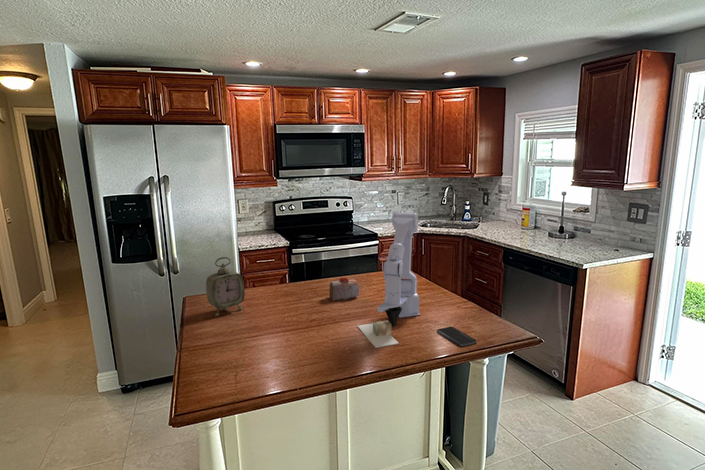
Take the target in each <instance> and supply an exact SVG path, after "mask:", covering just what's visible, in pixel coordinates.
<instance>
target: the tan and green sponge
mask: <svg viewBox="0 0 705 470" xmlns="http://www.w3.org/2000/svg"><path fill="white" fill-rule="evenodd" d="M372 323H373V333H374V334H375V335H376V336H382V335H388V334H390V335H392V326H391V323H390V322H389V319H387V320H386V319H385V320H380V321H379V320H378V321H372Z"/></svg>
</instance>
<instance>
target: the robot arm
mask: <svg viewBox="0 0 705 470" xmlns="http://www.w3.org/2000/svg"><path fill="white" fill-rule="evenodd" d="M391 223H392V226H393V229H394V230H395V231H394V239H393V243H392V244H391V245H390V246H389V250H388V254H387V255H388V256H387V258H386V261H384V263H383V266H382V267H383V268H382V269H383V270H382V271H383V279H384V285H385V289H384V291H385V292H384V293H385V296H384V297H385V299H384V300H383V303H382V304H380V305H377V312H378V313H380V314H381V313H385V314H386V317H387V320H388V321H389V322H390V323H391V327H395V326H397V322H398V319H399V318H400V319H401V318H408V317H415V316H420V297H419V294H418V293H417V291H418V278H417V275H416V274H414V273H413V271H412V270H411V269H412V268H411V267H412V250H413V249H412V247H413V246H412V245H413V244H412V243H413V235H414V233H417V232H418V228H419V227H418V224H419V217H418V213H417V212H402V211H401V212H400V211H399V212H397V211H393V213H392V216H391Z"/></svg>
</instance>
